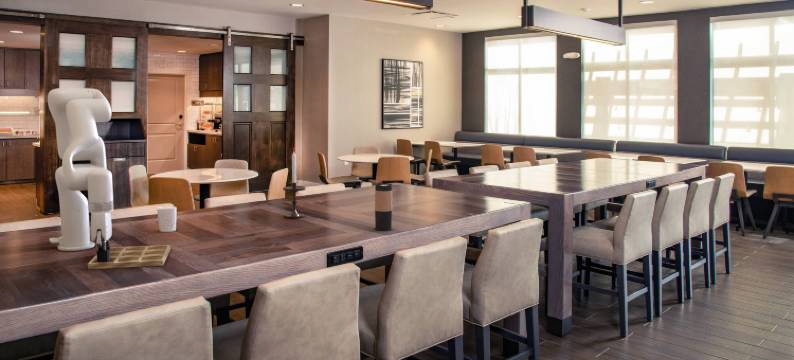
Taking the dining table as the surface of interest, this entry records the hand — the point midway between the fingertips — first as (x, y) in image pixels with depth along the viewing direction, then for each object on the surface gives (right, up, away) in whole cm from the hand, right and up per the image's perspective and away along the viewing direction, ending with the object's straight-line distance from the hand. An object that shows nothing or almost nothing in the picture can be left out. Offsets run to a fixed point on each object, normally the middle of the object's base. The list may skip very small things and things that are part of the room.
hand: (103, 259), depth 212 cm
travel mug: (+94, +5, +65) cm, 114 cm away
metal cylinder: (0, 0, 0) cm, 0 cm away
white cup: (+1, +5, +57) cm, 58 cm away
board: (+5, -1, +9) cm, 11 cm away
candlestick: (+50, +9, +92) cm, 105 cm away
